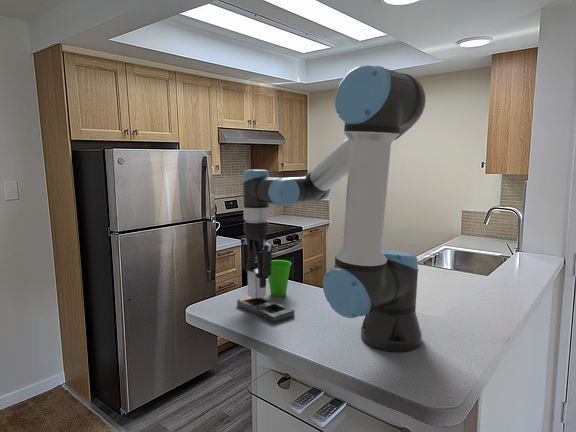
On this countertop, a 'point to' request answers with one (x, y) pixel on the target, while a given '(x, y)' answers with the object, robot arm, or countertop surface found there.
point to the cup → (279, 277)
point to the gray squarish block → (253, 283)
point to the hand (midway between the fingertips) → (256, 294)
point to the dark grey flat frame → (266, 309)
